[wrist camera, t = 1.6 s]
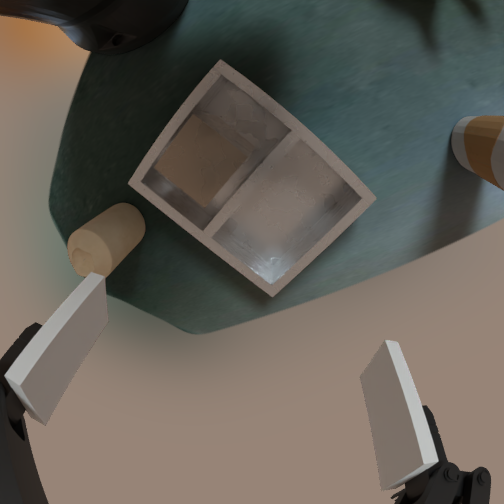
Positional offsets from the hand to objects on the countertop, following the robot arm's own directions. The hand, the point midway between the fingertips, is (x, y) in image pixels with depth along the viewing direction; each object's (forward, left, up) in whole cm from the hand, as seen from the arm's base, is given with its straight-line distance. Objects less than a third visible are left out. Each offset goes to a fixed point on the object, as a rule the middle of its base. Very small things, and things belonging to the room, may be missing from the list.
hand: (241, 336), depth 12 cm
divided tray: (-3, +2, -20) cm, 20 cm away
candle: (-11, -12, -20) cm, 26 cm away
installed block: (-7, +2, -19) cm, 20 cm away
